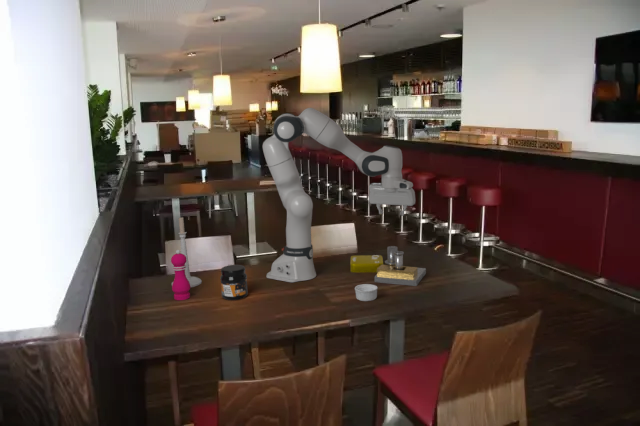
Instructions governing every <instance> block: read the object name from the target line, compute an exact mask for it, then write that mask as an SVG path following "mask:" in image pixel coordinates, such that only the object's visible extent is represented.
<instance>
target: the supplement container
mask: <svg viewBox="0 0 640 426" xmlns="http://www.w3.org/2000/svg"><path fill="white" fill-rule="evenodd" d="M220 274H221V275H220V278H219V279H220V288H221V297H222V298H223V299H224V300H226V301H227V300H228V301H239V300H242V299H245V298H246V297H247V296H248V294H249V291H248V275H247V273H246V267H245V266H244V265H242V264H228V265H225V266H223V267H221V269H220Z"/></svg>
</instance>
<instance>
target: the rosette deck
mask: <svg viewBox="0 0 640 426" xmlns="http://www.w3.org/2000/svg"><path fill="white" fill-rule="evenodd" d="M386 249H387V250H386V251H387V252H386V254H387V259H386V260H384V264H383V265H381V266H379V267H378V268H377V272H376V275H375V276H374V278H373V279H374V283H379V284H380V283H381V284H388V285H389V284H393V285H400V286H401V285H403V286H409V287H410V286H413V287H417V286H418V285H419V284H420V282H421V281H422V279H423V278H424V277H425V276H426V274H427V269H426V267H417V266H405V265H403V270H395V254H394V252H395V251H398V246H395V245H390V246H387V248H386Z"/></svg>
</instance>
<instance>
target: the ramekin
mask: <svg viewBox="0 0 640 426" xmlns="http://www.w3.org/2000/svg"><path fill="white" fill-rule="evenodd" d="M354 291H355V298H356V299H357V300H359V301H362V302H370V301H374V300H376V299H377V297H378V286H377V285H376V284H370V283H363V284H358V285H356V286H355V287H354Z"/></svg>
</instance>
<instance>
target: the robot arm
mask: <svg viewBox="0 0 640 426" xmlns="http://www.w3.org/2000/svg"><path fill="white" fill-rule="evenodd" d="M272 129H273V135H271V136H270V137H267V138H266V139H265V140H264V141H263V142H262V151H263V155H264V158H265V162H266V164H267V166H268V169H269V172H270V174H271V176H272V179H273V181H274V183H275V186H276V189H277V193H278V195H279V197H280V200H281V203H282V206H283V208H284V209H285V210H286V223H285V224H286V227H285V238H286V239H285V240H286V241H285V243H286V245H284V246H283V248H281V252H283V254H281V255H280V256H279V257H277V258H276V259H275V260H274V261H273V262H272V264H271V268H270V269H271V270H270V271H269V272H267V273H266V278H267V279H271V280H277V281H283V282H287V283H296V282H302V281H309V280H312V279H315V278H316V276H317V272H316V268H315V265H314V260H313V259H314V258H313V257H314V249H313V244H312V219H313V208H314V203H313V199H312V197H311V196H310V195H309V194H308V193H306V192H305V190H304V187H303V184H302V180H301V177H300V173H299V170H298V168H297V166H296V163H295V161H294V158H293V156H292V153H291V151H290V148H289V143H290V142H291V143H292V142H293V141H295V140H297V138H298V137H300V136H301V135H302V134H303V135H304V134H305V135H308V137H311V138H312V139H313V140H314V141H316V142H318V143H319V144H320V145H322V146H324V147H326V148H328V149H333V150H336V151H338V152H341V153H342V154H343V155H344V156H346V157H347V158H349V159H350V160H351V161H353V162H354V163H355V165H356V167H357V169H358V170H359V171H360V172H361V173H362V174H364V175H366V176H368V177H376V176H381V182H372V183H370V184H369V186H368V191H369V193H368V194H369V195H368V202H369V204H371V205H376V207H377V210H378V215H384V210H383V209H382V207H381V206H382V205H388V206H391V205H392V206H402V208H403V209H402V210H401V211H399V216H400V217H402V216H405V211H406V209H407V208H408V207H412V206H414V205H416V192H415V189H413V187H414V183H413V182H412V181H409V180H406V179H404V178H403V174H402V170H403V169H402V168H403V153H402V152H403V151H402V150H401V149H400V148H399V147H398V146H394V145H387V144H386V145H383V147H381V148H380V149H378V150H376V151H373V152H372V151H366V150H364V149H362V148H360V147H359V146H358V145H356V144H355V143H354V142H353V141H351V140H350V139H349V138H348V137H347V136H346V134H345V133H344V131H343V129H342V127H341V125H339V124H338V123H337V122H335V120H333V119H332V118H330V117H329V116H328V115H326V114H325V113H323V112H321V111H319V110H317V109H316V108H313V107H307V108H305V109H304V110H302V112H301V113H300V114H299V115H298V116H297V115H295V114H293V113H290V112H286V113H282V114H281V115H279V116H278V117H277V118H276V119H275V121H274V124H273V128H272Z"/></svg>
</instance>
